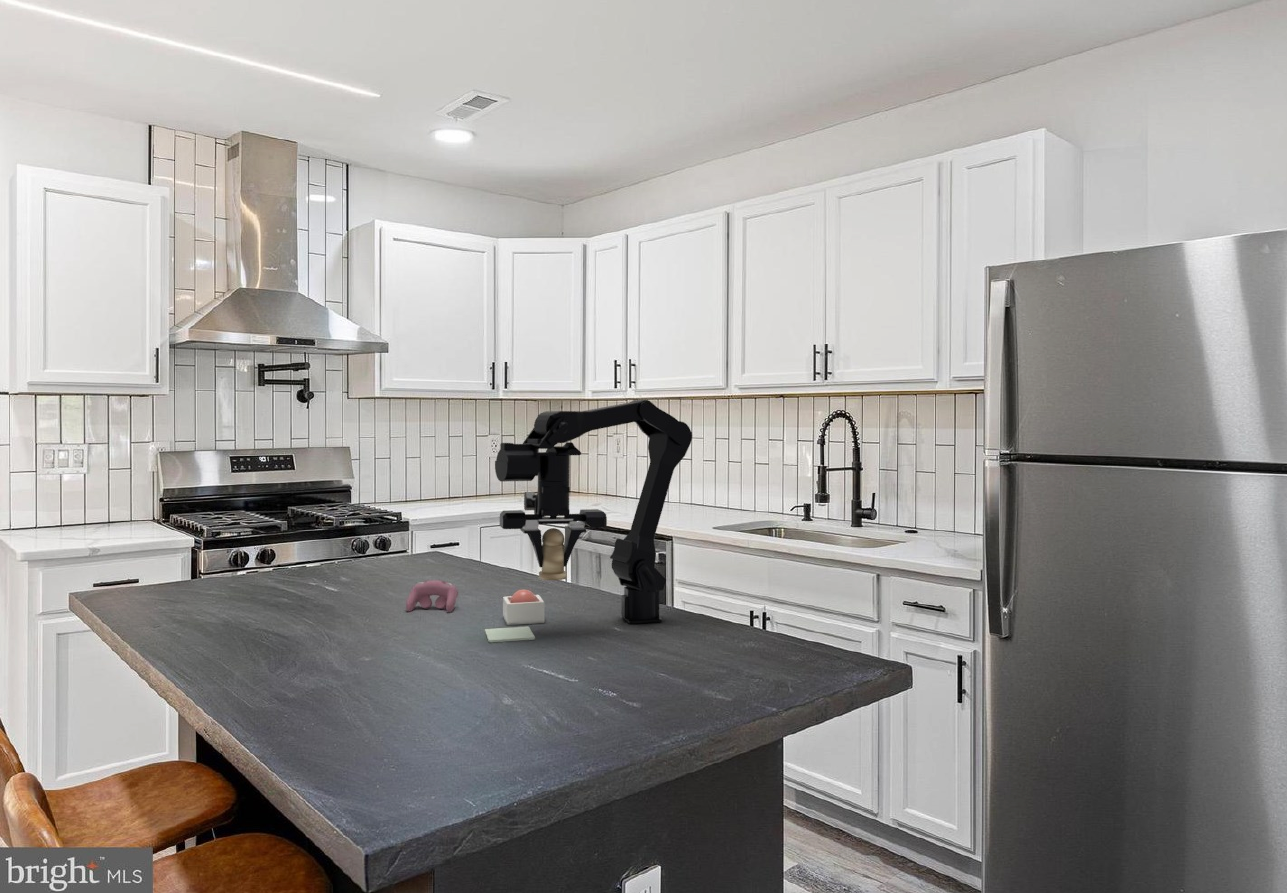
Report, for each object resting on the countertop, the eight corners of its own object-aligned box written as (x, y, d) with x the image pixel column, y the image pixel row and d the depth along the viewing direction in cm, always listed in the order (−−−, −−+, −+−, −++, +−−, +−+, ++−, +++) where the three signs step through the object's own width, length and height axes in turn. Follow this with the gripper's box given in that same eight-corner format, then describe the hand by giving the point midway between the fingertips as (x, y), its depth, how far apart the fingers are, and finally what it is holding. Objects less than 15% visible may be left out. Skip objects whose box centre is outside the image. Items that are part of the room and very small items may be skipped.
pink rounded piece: (534, 613, 167) (534, 586, 167) (538, 619, 162) (538, 591, 162) (508, 615, 165) (508, 587, 165) (512, 621, 161) (511, 592, 161)
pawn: (563, 575, 157) (564, 526, 157) (569, 579, 152) (569, 529, 152) (536, 576, 155) (537, 526, 155) (541, 580, 151) (541, 530, 150)
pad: (528, 628, 157) (528, 626, 157) (535, 639, 149) (535, 637, 149) (484, 631, 155) (484, 629, 155) (488, 642, 147) (488, 640, 147)
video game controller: (457, 616, 173) (461, 583, 176) (450, 611, 169) (455, 577, 172) (410, 615, 174) (415, 582, 177) (402, 610, 170) (408, 576, 173)
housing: (538, 614, 168) (538, 594, 168) (544, 623, 161) (544, 602, 161) (503, 617, 166) (503, 596, 166) (507, 625, 159) (507, 604, 159)
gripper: (594, 477, 164) (593, 558, 164) (496, 478, 158) (495, 561, 159) (608, 481, 153) (606, 567, 153) (503, 481, 148) (502, 571, 148)
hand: (552, 566), depth 154 cm, fingers closed on pawn, 4 cm apart
